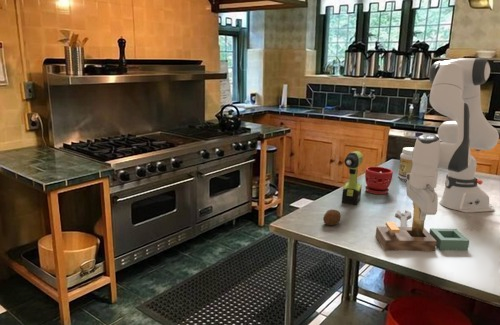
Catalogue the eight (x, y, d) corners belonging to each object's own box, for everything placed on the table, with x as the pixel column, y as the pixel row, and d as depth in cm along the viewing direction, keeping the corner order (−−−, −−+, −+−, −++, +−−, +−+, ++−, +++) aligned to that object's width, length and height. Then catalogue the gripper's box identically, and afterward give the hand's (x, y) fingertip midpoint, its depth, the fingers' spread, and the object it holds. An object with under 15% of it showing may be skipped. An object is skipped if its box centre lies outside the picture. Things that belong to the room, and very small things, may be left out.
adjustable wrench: (407, 237, 157) (407, 233, 157) (389, 234, 160) (390, 230, 160) (411, 214, 179) (411, 211, 179) (396, 212, 182) (396, 208, 181)
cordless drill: (352, 213, 180) (356, 158, 173) (336, 210, 183) (339, 156, 176) (361, 197, 200) (365, 147, 194) (347, 195, 203) (350, 146, 196)
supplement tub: (394, 175, 237) (397, 146, 233) (414, 174, 238) (417, 146, 234) (404, 181, 225) (407, 151, 221) (424, 180, 227) (428, 151, 222)
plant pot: (387, 197, 200) (390, 174, 197) (361, 193, 206) (362, 170, 203) (393, 190, 211) (395, 168, 208) (367, 186, 217) (369, 164, 214)
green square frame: (455, 238, 156) (456, 228, 155) (467, 250, 146) (469, 240, 145) (428, 238, 156) (430, 228, 155) (439, 250, 146) (441, 240, 145)
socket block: (422, 236, 157) (423, 227, 156) (435, 251, 145) (436, 241, 144) (375, 235, 158) (376, 226, 156) (384, 250, 146) (385, 240, 145)
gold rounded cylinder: (420, 232, 152) (423, 202, 149) (424, 236, 149) (428, 206, 145) (409, 232, 153) (412, 202, 149) (413, 236, 149) (416, 206, 146)
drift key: (392, 237, 155) (393, 222, 153) (398, 245, 148) (399, 229, 146) (384, 236, 155) (385, 221, 153) (389, 245, 148) (391, 229, 146)
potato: (343, 221, 171) (344, 207, 169) (335, 229, 163) (336, 215, 161) (328, 218, 174) (329, 204, 173) (320, 226, 166) (321, 212, 165)
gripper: (444, 190, 135) (439, 228, 139) (421, 172, 155) (417, 206, 158) (425, 190, 135) (421, 228, 139) (404, 172, 155) (401, 206, 158)
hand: (419, 216), depth 149 cm, fingers closed on gold rounded cylinder, 4 cm apart
